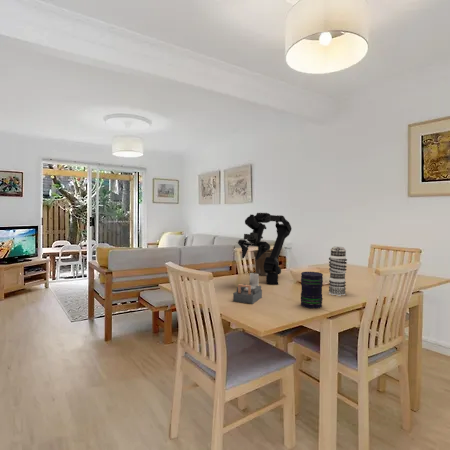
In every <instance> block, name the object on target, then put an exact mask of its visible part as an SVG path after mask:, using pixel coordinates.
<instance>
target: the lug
mask: <svg viewBox="0 0 450 450" xmlns="http://www.w3.org/2000/svg"><path fill="white" fill-rule="evenodd" d="M237 287H238V293H241V287H246V288H247V287H248V294H251V286H250V284H248V285H247V284H246V285H243V283H242V284H241V283H240V284H237Z"/></svg>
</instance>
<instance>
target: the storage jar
mask: <svg viewBox="0 0 450 450" xmlns="http://www.w3.org/2000/svg"><path fill="white" fill-rule="evenodd" d="M323 276H324V274H323V273H322V272H316V271H302V272H301V276H300V285H301V292H300V306H301V307H303V308H307V309H313V308H315V309H321V308H322V307H323V282H324V278H323ZM320 307H321V308H320Z"/></svg>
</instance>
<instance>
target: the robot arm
mask: <svg viewBox="0 0 450 450" xmlns="http://www.w3.org/2000/svg"><path fill="white" fill-rule="evenodd" d="M270 222H275V228H276V235H277V236H276V238H275V240H274V241H275V242H274V244H273V246H272V249H271V244H270V243H269V242H267V241H264V240H263V241H261V240H262V239H263V238H264V236H263V235H264V234H263V233H264V230H267V226H266V224H268V223H270ZM244 224H245V225H246V226H247V227H248V228H249V229H250V230H252V232H249V233H244V234H243V239H239V240H238V241H237V245H238V246H240V248H241V259H244V258H246V255H247V253H248V251H249V247H257V250H258V252H257V255H256V260H258V259H259V258H260V256H261V255H262V254H263V253H265V252H266V251H267V250H272V252H271V255H270V257H266V259H265V262H264V271H265V273H267V275H266V276H265V278H266V279H265V280H266V284H267V285H279V275H281V273H282V269H281V267H280V266H279V265H280V261H279V258H280V257H279V256H280V255H281V251H282V248H283V246H284V242H285V240H286V238H287V237H289V236H290V234H291V232H292V225H291V223H290V221H288V220H287V219H286V217H285V216H284V215H276V214H275V215H274V214H273V215H272V214H270V213H268V212H257V213H255V214H250V215H248V216H247V217H246V218H245V220H244Z"/></svg>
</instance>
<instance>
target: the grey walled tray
mask: <svg viewBox="0 0 450 450" xmlns="http://www.w3.org/2000/svg"><path fill="white" fill-rule="evenodd" d="M242 285H247V284H246V283H242ZM245 288H247V287H241V293H238V286H237V287H236V291H235V292H233V293H232V294H233V295H232V300H233V302H235V303H236V302H237V303H244V304H251V305H253V304H255V303H256V302H258V301H259V300H260V299H262V298H263V289H262V285H258V287H256V288H254V289H253V290H252V291H251V294H248V291H244V289H245Z"/></svg>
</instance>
